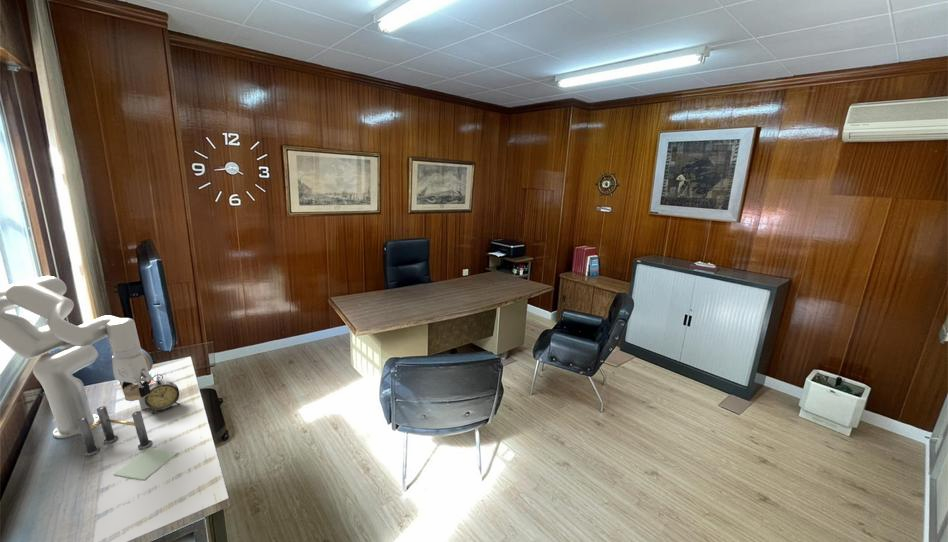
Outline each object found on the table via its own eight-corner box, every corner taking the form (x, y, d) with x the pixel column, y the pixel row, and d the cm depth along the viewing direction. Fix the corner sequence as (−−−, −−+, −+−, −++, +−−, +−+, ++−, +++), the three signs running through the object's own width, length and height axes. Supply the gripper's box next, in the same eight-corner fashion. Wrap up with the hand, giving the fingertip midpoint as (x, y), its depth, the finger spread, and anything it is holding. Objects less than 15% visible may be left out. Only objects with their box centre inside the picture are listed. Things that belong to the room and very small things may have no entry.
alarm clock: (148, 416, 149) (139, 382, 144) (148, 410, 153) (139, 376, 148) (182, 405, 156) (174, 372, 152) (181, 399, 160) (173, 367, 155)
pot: (121, 399, 135) (118, 390, 134) (139, 389, 142) (137, 380, 140) (136, 401, 135) (134, 392, 133) (153, 391, 141) (151, 382, 140)
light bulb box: (143, 397, 161) (137, 376, 158) (162, 392, 165) (157, 371, 162) (140, 410, 153) (134, 388, 150) (161, 404, 157) (156, 382, 154)
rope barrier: (81, 455, 129) (70, 422, 125) (112, 435, 138) (102, 404, 134) (126, 463, 126) (116, 429, 122) (155, 442, 136) (146, 410, 132)
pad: (113, 475, 121) (113, 474, 121) (149, 448, 133) (149, 447, 133) (144, 480, 120) (144, 479, 120) (178, 453, 131) (178, 452, 131)
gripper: (95, 353, 130) (106, 396, 135) (136, 359, 128) (147, 403, 133) (118, 344, 138) (128, 385, 143) (157, 349, 135) (166, 391, 140)
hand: (137, 393), depth 138 cm, fingers closed on pot, 6 cm apart
